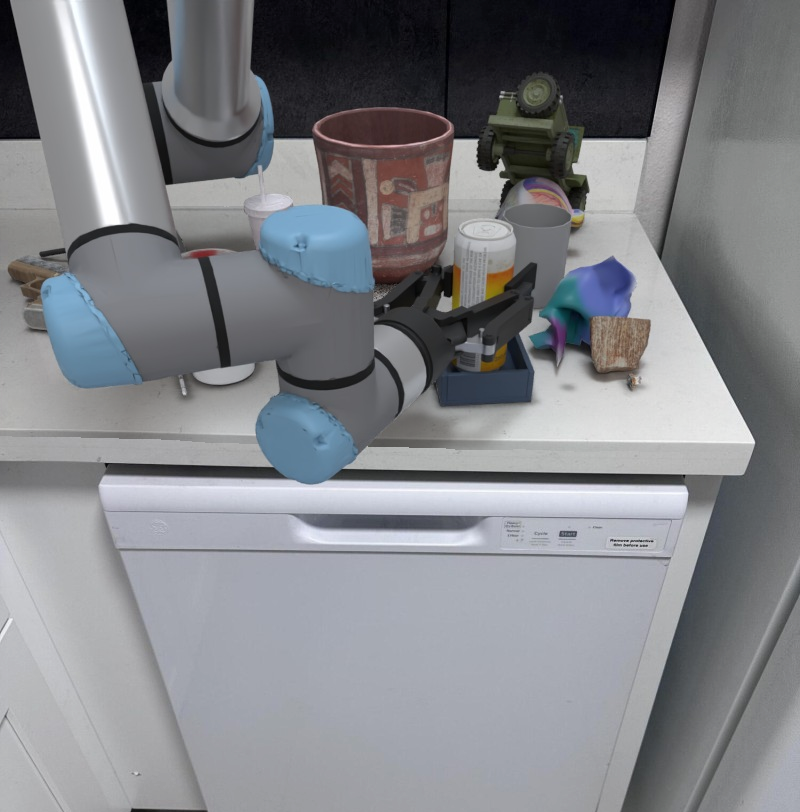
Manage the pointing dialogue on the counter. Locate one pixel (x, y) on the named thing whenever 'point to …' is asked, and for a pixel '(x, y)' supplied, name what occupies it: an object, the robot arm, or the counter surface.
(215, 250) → the white ridged cylinder
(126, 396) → the counter surface
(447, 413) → the counter surface
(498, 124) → the toy jeep
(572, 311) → the figurine
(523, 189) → the anatomical model
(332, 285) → the robot arm
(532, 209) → the cup
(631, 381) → the figurine
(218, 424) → the counter surface
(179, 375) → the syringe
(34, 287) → the handgun
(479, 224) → the beer can
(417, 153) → the pottery
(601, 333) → the stone
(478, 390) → the bin
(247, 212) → the smoothie
